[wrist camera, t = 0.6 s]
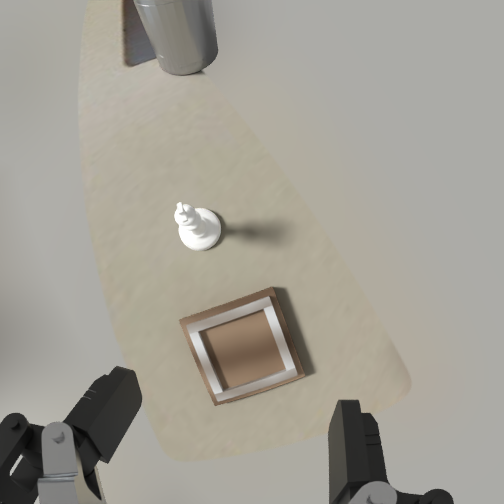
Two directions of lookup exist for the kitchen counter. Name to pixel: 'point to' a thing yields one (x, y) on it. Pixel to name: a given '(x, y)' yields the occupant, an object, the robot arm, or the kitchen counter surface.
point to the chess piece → (197, 227)
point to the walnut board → (242, 347)
